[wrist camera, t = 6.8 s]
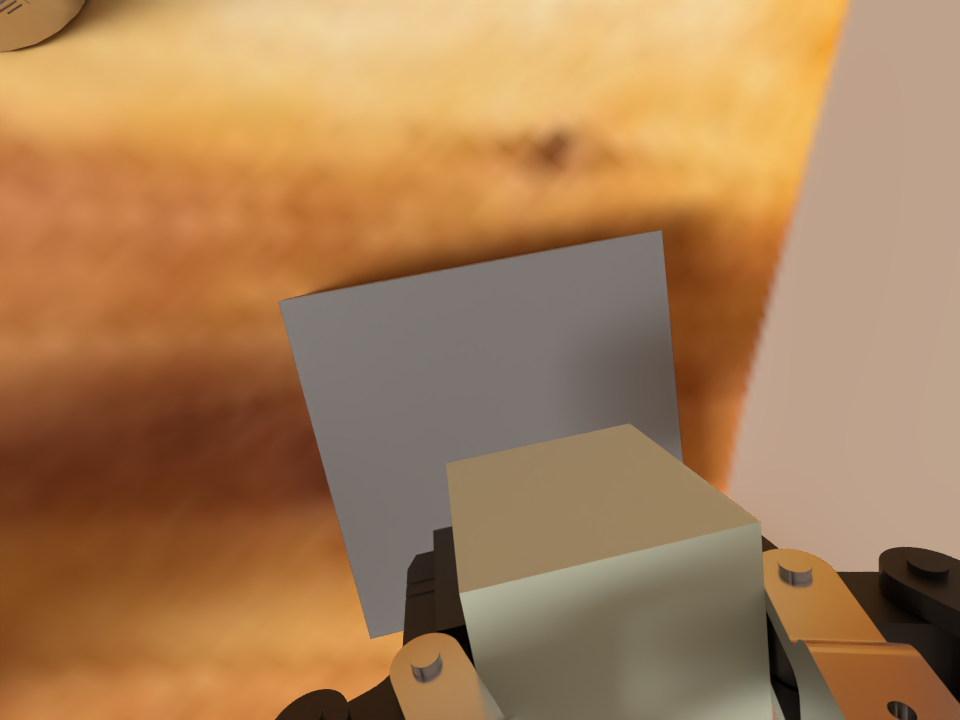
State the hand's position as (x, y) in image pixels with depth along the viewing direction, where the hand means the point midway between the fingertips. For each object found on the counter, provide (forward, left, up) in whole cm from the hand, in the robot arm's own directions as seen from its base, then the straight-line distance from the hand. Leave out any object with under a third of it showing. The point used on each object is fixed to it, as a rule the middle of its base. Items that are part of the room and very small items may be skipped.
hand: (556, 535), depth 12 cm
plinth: (0, 0, -10) cm, 10 cm away
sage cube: (0, 0, 0) cm, 0 cm away
